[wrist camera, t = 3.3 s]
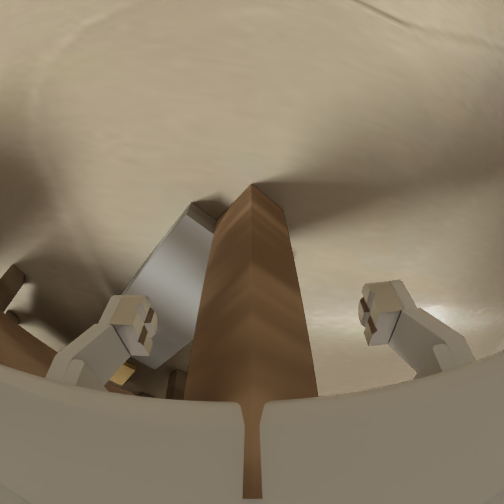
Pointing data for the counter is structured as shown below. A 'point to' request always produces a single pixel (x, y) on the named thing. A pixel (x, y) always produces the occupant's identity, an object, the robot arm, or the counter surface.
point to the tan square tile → (123, 373)
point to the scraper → (231, 313)
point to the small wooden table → (39, 354)
